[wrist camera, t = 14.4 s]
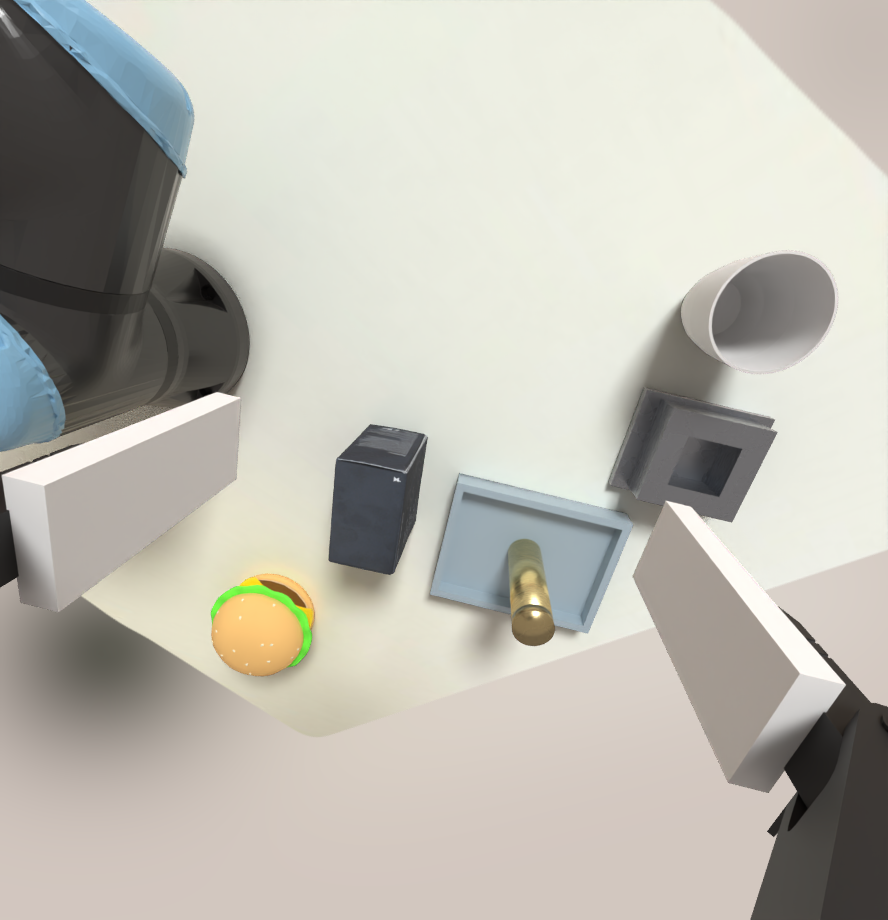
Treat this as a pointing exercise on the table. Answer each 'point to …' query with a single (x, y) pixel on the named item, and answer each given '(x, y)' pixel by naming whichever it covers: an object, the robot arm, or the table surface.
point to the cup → (762, 311)
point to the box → (376, 498)
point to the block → (692, 453)
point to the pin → (529, 594)
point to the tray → (541, 520)
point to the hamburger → (263, 625)
